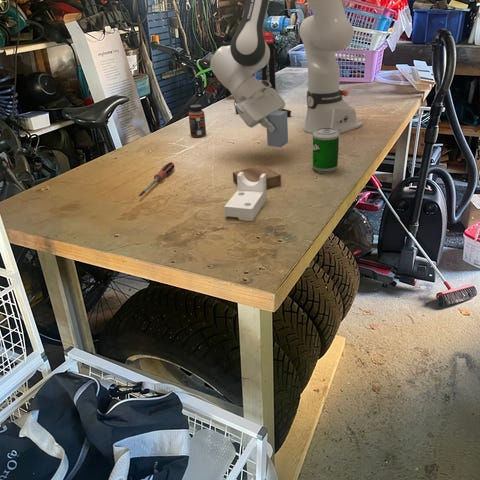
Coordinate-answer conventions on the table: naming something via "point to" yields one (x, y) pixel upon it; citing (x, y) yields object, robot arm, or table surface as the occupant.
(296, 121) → the table surface
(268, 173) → the walnut block
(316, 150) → the soda can
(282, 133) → the gray block
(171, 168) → the screwdriver
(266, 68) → the graphics card box
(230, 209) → the bracket
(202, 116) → the supplement bottle
